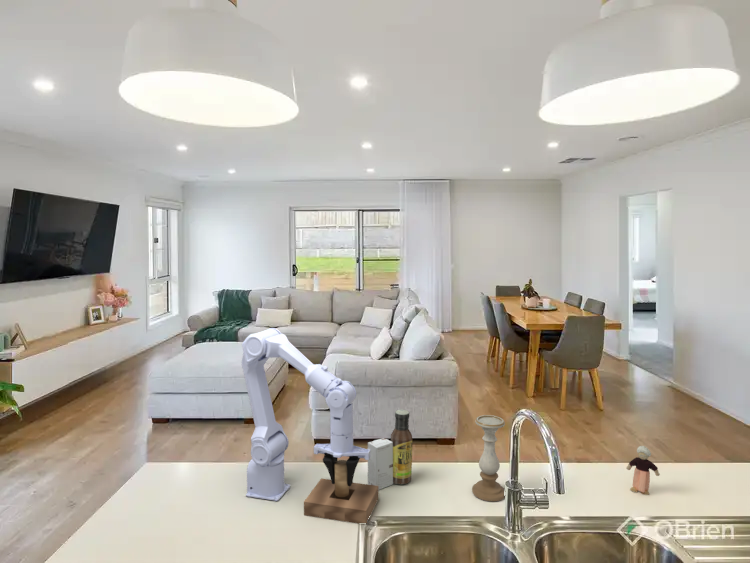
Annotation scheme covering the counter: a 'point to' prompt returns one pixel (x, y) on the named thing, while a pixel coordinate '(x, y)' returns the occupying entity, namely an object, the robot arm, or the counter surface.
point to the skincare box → (380, 463)
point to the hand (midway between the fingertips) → (342, 483)
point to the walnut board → (341, 502)
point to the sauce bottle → (402, 448)
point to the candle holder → (489, 461)
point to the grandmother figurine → (642, 470)
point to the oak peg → (341, 479)
